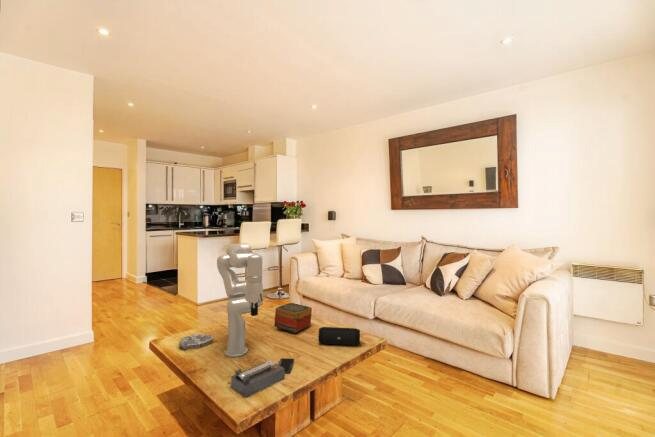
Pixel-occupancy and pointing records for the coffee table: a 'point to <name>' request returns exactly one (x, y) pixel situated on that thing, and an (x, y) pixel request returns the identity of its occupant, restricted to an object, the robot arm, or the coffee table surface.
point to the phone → (286, 364)
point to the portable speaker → (339, 336)
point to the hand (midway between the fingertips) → (254, 315)
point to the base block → (256, 380)
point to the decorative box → (293, 317)
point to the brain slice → (195, 341)
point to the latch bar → (257, 369)
